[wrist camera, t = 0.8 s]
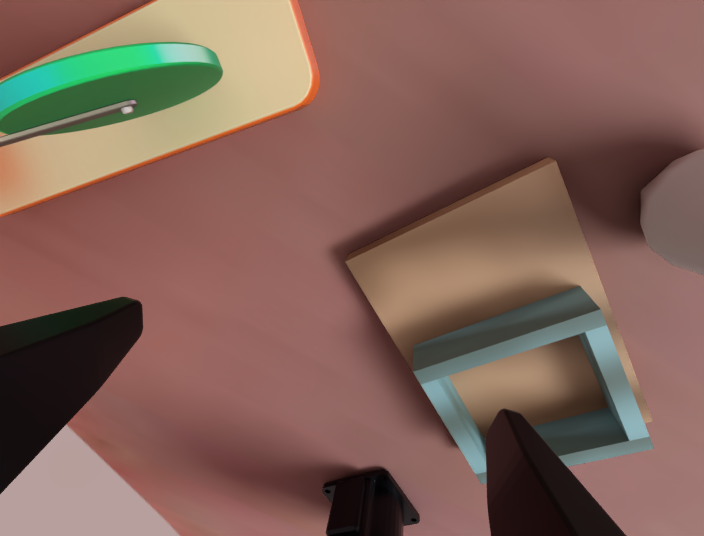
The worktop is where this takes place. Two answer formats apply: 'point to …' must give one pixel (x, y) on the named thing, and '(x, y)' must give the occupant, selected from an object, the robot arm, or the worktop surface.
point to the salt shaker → (676, 212)
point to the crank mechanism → (149, 92)
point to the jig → (509, 320)
